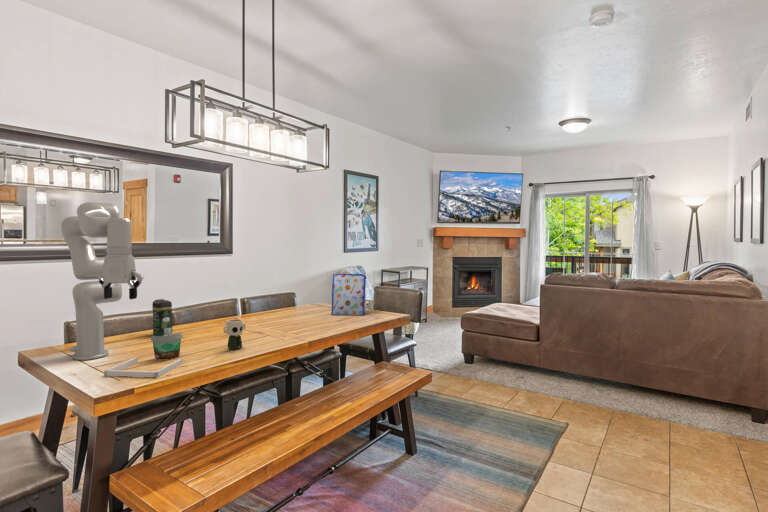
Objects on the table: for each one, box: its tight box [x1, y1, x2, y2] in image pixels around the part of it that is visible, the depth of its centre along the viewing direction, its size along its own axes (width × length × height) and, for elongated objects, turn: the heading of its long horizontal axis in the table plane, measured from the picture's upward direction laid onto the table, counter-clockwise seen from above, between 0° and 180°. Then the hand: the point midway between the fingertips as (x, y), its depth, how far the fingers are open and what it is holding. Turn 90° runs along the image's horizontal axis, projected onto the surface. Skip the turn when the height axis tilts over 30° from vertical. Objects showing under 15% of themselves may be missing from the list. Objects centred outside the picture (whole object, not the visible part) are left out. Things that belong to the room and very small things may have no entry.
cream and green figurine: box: [222, 318, 246, 350], centre depth 192 cm, size 11×7×13 cm, turn 141°
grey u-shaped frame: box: [104, 356, 184, 378], centre depth 161 cm, size 20×17×2 cm
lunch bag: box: [330, 272, 367, 316], centre depth 280 cm, size 23×17×27 cm
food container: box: [150, 332, 184, 360], centre depth 176 cm, size 12×6×10 cm, turn 131°
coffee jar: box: [151, 298, 173, 336], centre depth 215 cm, size 10×8×19 cm
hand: (120, 298), depth 154 cm, fingers open, 9 cm apart
